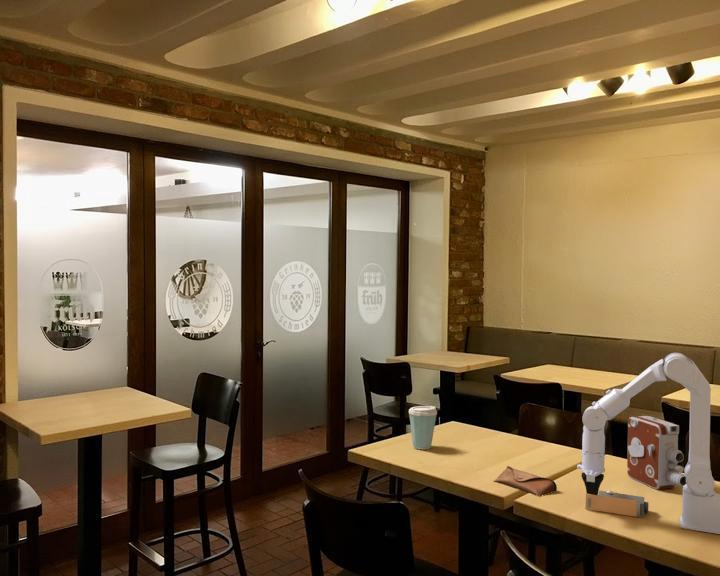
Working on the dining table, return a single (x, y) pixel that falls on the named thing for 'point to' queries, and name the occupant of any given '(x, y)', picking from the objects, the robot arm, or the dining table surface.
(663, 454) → the cine camera
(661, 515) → the dining table surface
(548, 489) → the sunglasses case
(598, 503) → the side door
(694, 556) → the dining table surface
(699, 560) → the dining table surface
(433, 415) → the disposable coffee cup
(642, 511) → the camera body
